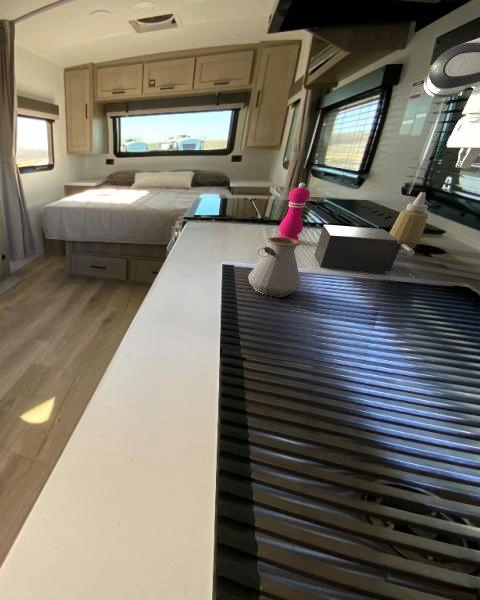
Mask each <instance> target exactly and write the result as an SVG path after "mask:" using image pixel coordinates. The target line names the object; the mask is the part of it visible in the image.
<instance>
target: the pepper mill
mask: <svg viewBox="0 0 480 600" xmlns="http://www.w3.org/2000/svg"><path fill="white" fill-rule="evenodd" d="M310 196H311V192H310V190H309V189H308V188H306V183H305V182H300V183H299V184H298V187H295V188H293V189H291V191H290V192H289V195H288V198H289V199H288V200H289V202H288V210H287V213H286V215H285V217H284V218H283V219H282V220H281V222H280V224H279V227H278V231H279V232H280V233H279V234H278V236H277V237H284V238H291V239H295V240H297V241H299V238H300V236H299V234H301V233H302V232H303V228H304V227H303V226H304V225H303V224H304V223H303V219H302V218H303V217H302V214H303V210H304V208H305V207H306V204H307V203H306V202H307V201H308V200H309V199H310Z"/></svg>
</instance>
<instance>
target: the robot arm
mask: <svg viewBox="0 0 480 600" xmlns="http://www.w3.org/2000/svg"><path fill="white" fill-rule="evenodd" d="M423 88H424V92H426V94H427V95H429V97H431V98H432V97H433V98H436V99H437V98H438V99H445V98H450V97H454V96H457V95H459V94H460V93H462V92H464V91H465V90H467V89H468V88H472V90H471V94H470V95H469V98H468V99H467V102H466V105H465V106H464V108H463V111H462V115H464V116H462V117H461V118H460V119H459V120H458V121H457V123H456V125H455V127H454V129H453V131H452V133H451V135H450V136H449V138H448V140H447V144H446V147H447V149H449V148H451V149H454V148H455V149H459V151H458V159H457V162H456V164H455V168H457V169H470V168H471V167H472V165H473V163H474V161H475V160H476V159H477V158H478V157H479V156H480V37H478V38H475V39H473V40H470V41H466V42H463V43H460V44H457V45H455V46H453V47H451V48H449V49H447V50H446V51H444V52H443V53H442V54H440V55H439V56H438V57H437V58H436V59H435V61H434V62H433V64H432V65H431V67H430V69H428V71H427V73H426V75H425V77H424V80H423Z"/></svg>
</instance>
